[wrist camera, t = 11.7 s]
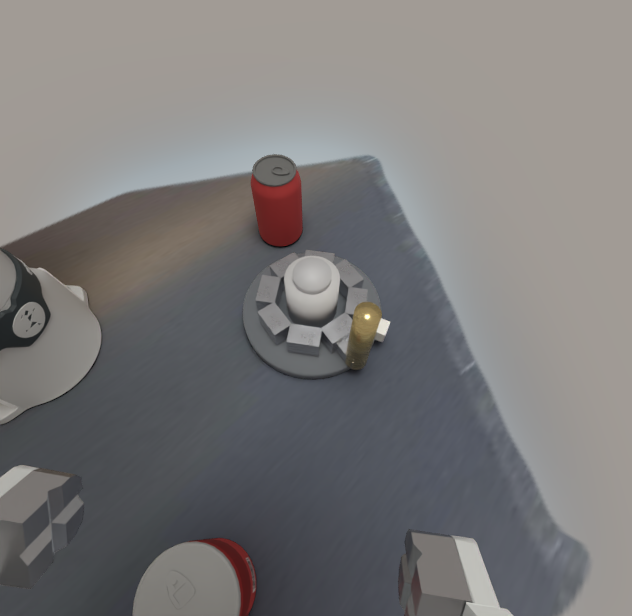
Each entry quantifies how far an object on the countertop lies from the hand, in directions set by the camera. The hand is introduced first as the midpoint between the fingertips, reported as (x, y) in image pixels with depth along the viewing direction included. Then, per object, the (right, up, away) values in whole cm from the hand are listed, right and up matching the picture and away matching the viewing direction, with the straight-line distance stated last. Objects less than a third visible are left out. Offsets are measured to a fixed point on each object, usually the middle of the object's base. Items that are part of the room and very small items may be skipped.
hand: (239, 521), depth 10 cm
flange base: (+1, +4, +43) cm, 43 cm away
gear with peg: (+2, +4, +40) cm, 40 cm away
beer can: (-3, +17, +50) cm, 53 cm away
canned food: (-8, -22, +29) cm, 37 cm away
